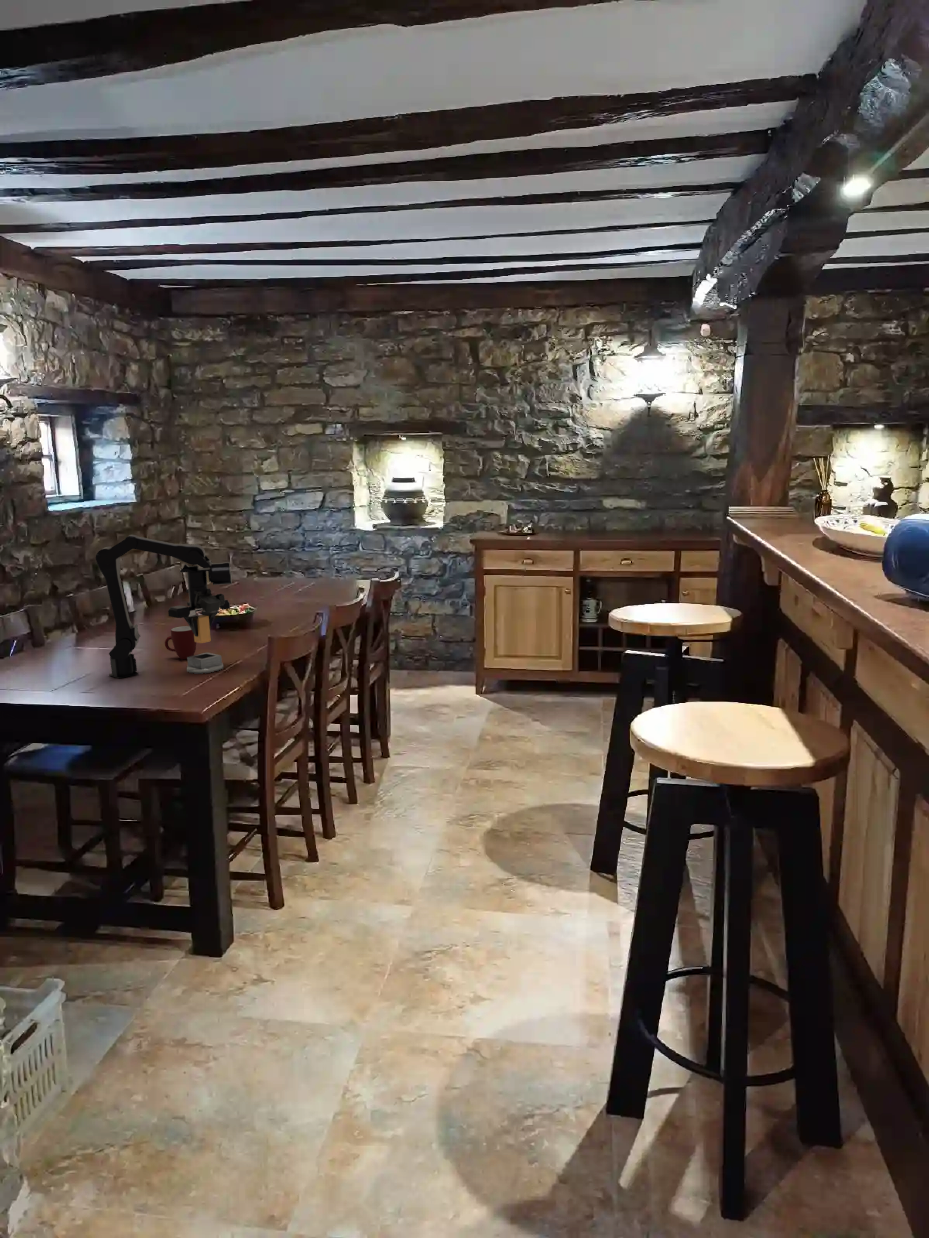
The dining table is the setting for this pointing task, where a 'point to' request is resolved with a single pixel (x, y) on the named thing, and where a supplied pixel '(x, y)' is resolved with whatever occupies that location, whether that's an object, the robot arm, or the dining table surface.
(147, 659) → the dining table surface
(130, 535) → the robot arm
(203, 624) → the orange-brown rectangular block
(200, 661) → the silver square frame
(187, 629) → the mug
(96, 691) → the dining table surface
